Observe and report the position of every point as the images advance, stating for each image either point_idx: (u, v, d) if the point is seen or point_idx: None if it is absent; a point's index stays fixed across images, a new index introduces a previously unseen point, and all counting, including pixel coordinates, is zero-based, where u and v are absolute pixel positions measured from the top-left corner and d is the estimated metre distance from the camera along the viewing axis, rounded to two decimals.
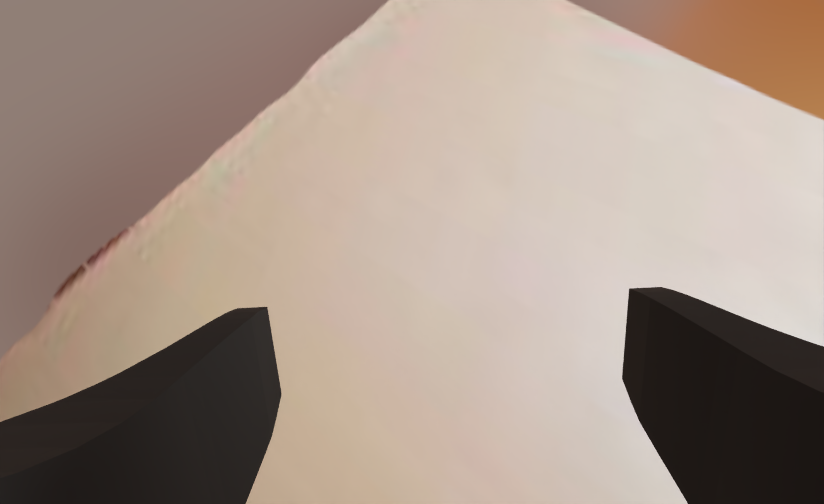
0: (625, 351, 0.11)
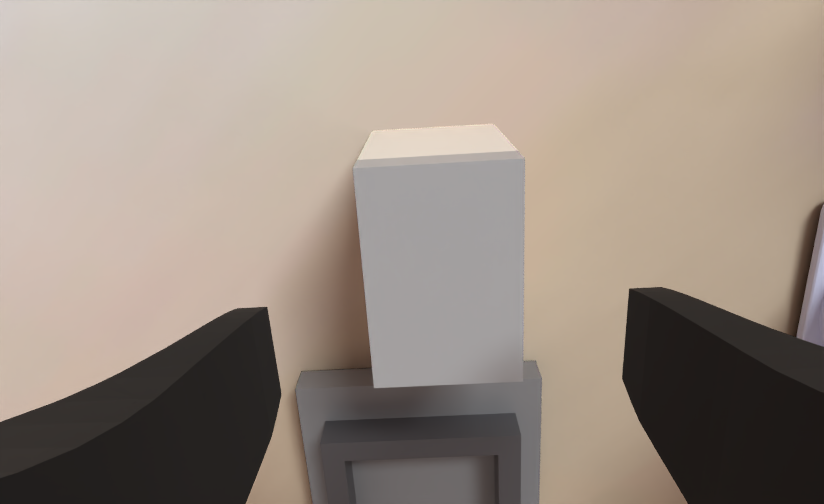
0: (625, 351, 0.11)
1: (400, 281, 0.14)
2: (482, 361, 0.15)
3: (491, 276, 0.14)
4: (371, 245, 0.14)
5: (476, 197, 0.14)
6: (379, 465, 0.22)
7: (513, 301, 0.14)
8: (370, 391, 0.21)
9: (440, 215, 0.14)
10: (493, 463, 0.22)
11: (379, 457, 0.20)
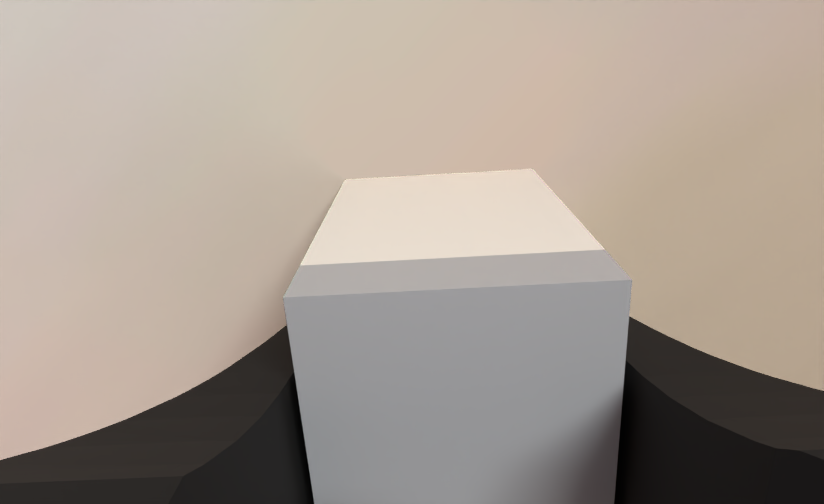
0: None
1: (381, 493, 0.08)
2: None
3: (553, 486, 0.08)
4: (326, 433, 0.07)
5: (529, 351, 0.07)
6: None
7: None
8: None
9: (459, 382, 0.07)
10: None
11: None
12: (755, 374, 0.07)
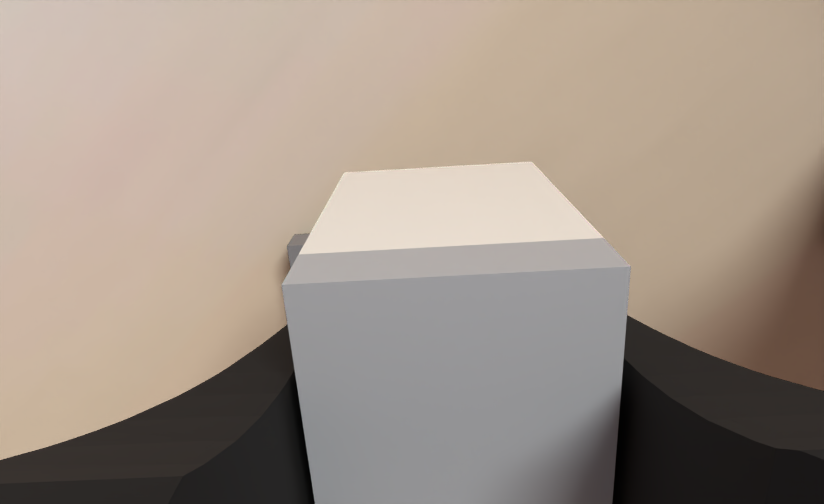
0: None
1: (381, 482, 0.08)
2: None
3: (553, 474, 0.08)
4: (325, 421, 0.07)
5: (528, 338, 0.07)
6: None
7: None
8: None
9: (457, 370, 0.07)
10: None
11: None
12: (755, 374, 0.07)
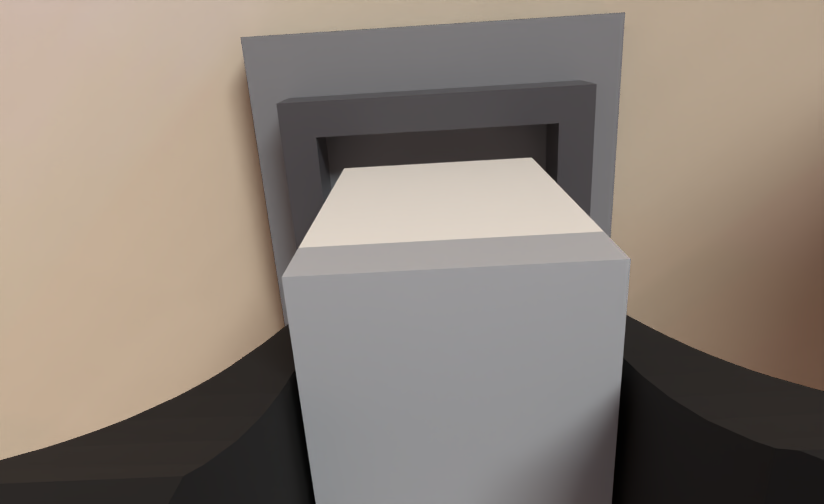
0: None
1: (380, 476, 0.08)
2: None
3: (552, 468, 0.08)
4: (324, 414, 0.07)
5: (528, 331, 0.07)
6: None
7: None
8: (357, 40, 0.13)
9: (456, 363, 0.07)
10: None
11: (370, 133, 0.13)
12: (755, 374, 0.07)
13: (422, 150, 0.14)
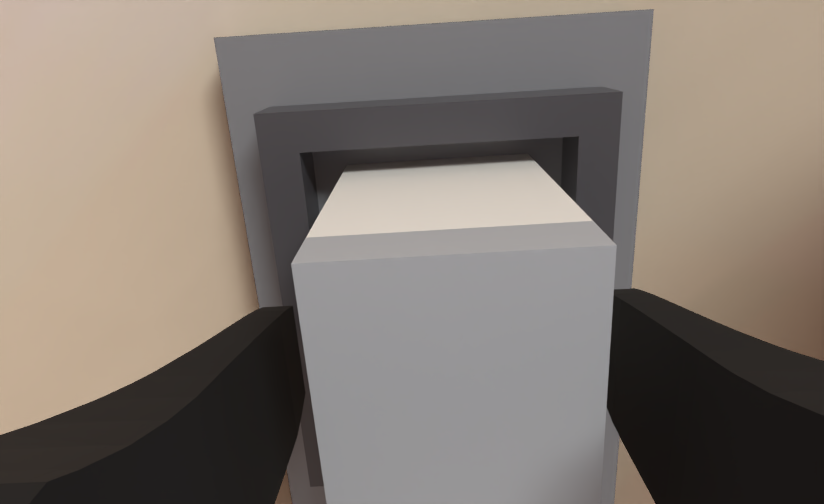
0: None
1: (384, 452, 0.08)
2: None
3: (546, 444, 0.08)
4: (331, 393, 0.08)
5: (522, 313, 0.07)
6: None
7: (583, 483, 0.08)
8: (346, 41, 0.12)
9: (455, 344, 0.07)
10: None
11: (362, 147, 0.11)
12: None
13: None
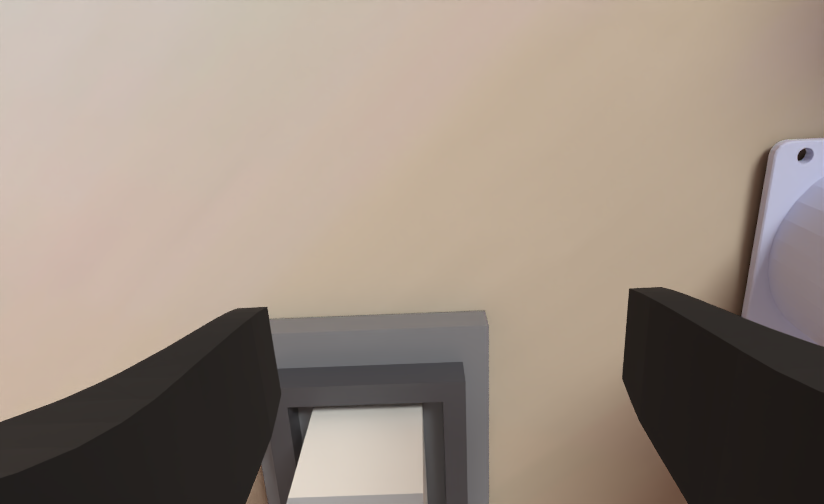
0: (625, 351, 0.11)
1: None
2: None
3: None
4: None
5: None
6: None
7: None
8: (315, 338, 0.21)
9: None
10: (441, 414, 0.22)
11: (323, 404, 0.20)
12: None
13: None
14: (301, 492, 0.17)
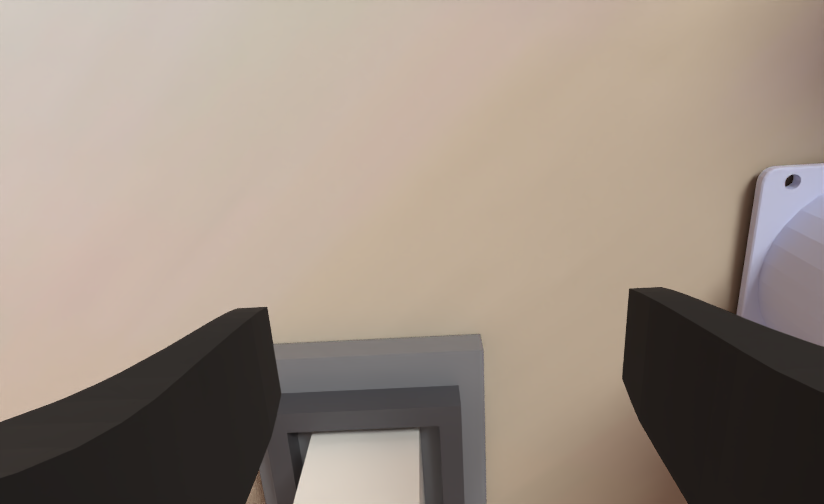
0: (625, 351, 0.11)
1: None
2: None
3: None
4: None
5: None
6: None
7: None
8: (313, 363, 0.21)
9: None
10: (438, 436, 0.22)
11: (321, 429, 0.21)
12: None
13: None
14: None
